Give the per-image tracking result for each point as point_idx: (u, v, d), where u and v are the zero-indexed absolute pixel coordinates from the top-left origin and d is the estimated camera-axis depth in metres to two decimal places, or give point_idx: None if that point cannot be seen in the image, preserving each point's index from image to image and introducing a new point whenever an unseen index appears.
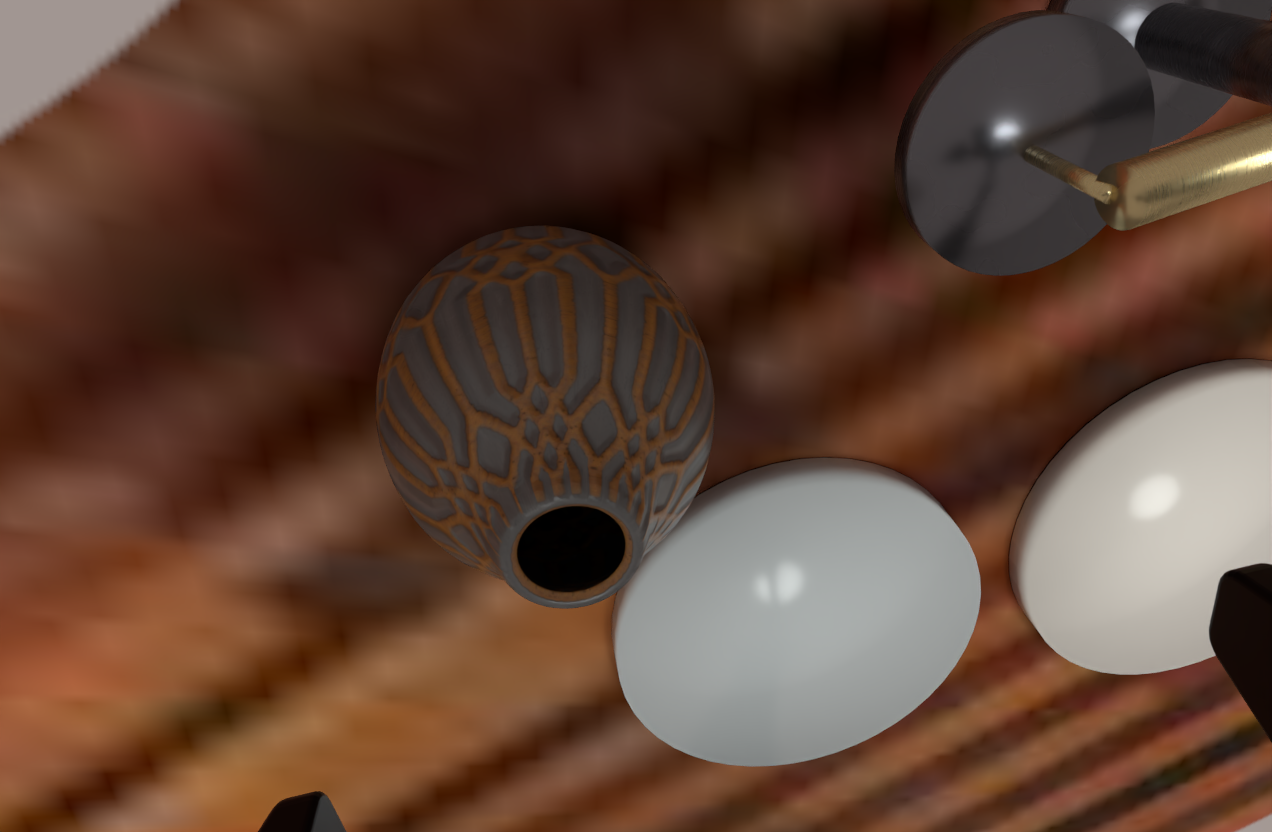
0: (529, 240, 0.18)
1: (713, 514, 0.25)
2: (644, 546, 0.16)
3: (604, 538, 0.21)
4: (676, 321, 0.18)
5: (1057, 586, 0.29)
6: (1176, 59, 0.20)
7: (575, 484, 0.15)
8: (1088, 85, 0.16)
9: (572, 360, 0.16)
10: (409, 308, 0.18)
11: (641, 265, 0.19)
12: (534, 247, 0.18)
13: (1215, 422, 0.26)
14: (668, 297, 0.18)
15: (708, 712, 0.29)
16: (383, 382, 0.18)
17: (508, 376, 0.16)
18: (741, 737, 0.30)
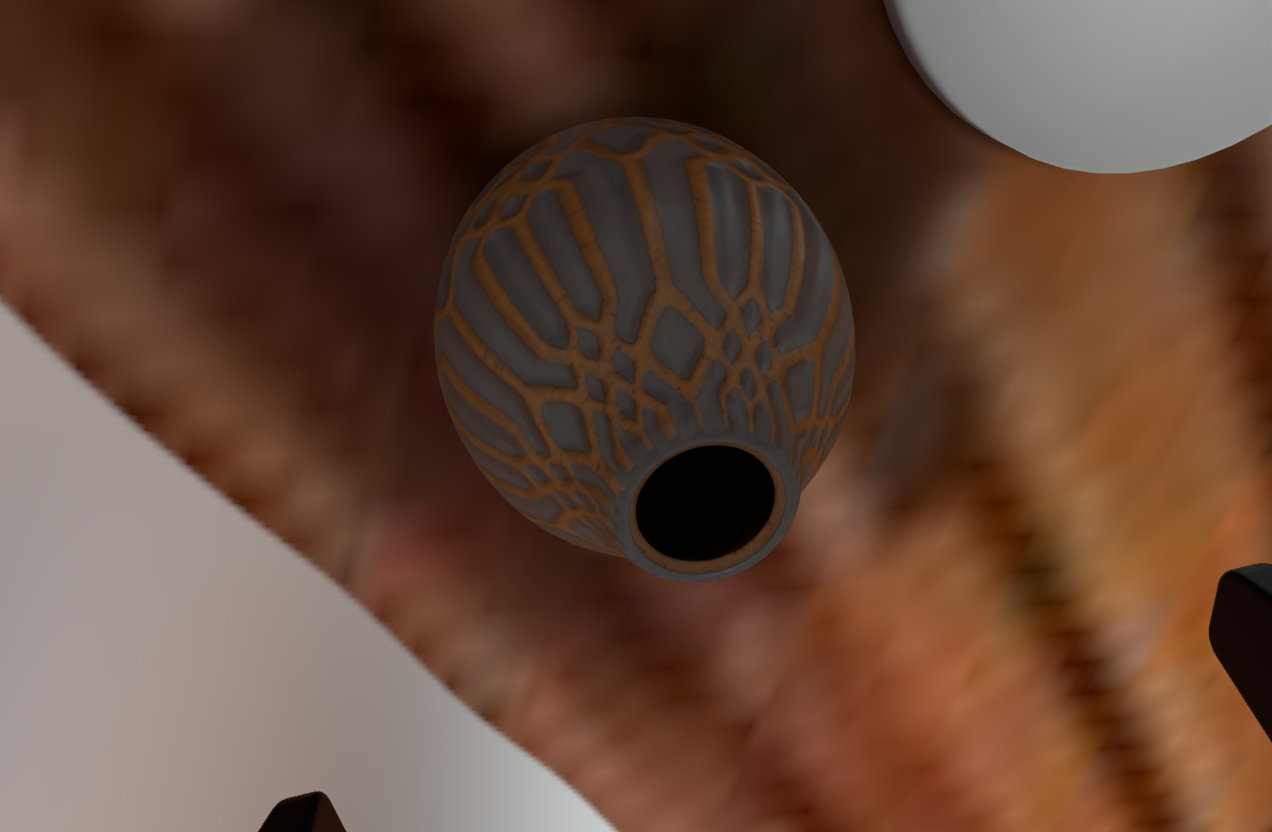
0: None
1: (913, 33, 0.17)
2: (716, 423, 0.11)
3: None
4: (505, 223, 0.14)
5: None
6: None
7: (607, 501, 0.12)
8: None
9: (503, 415, 0.13)
10: None
11: (467, 218, 0.15)
12: None
13: None
14: (489, 210, 0.14)
15: None
16: None
17: (520, 482, 0.14)
18: None
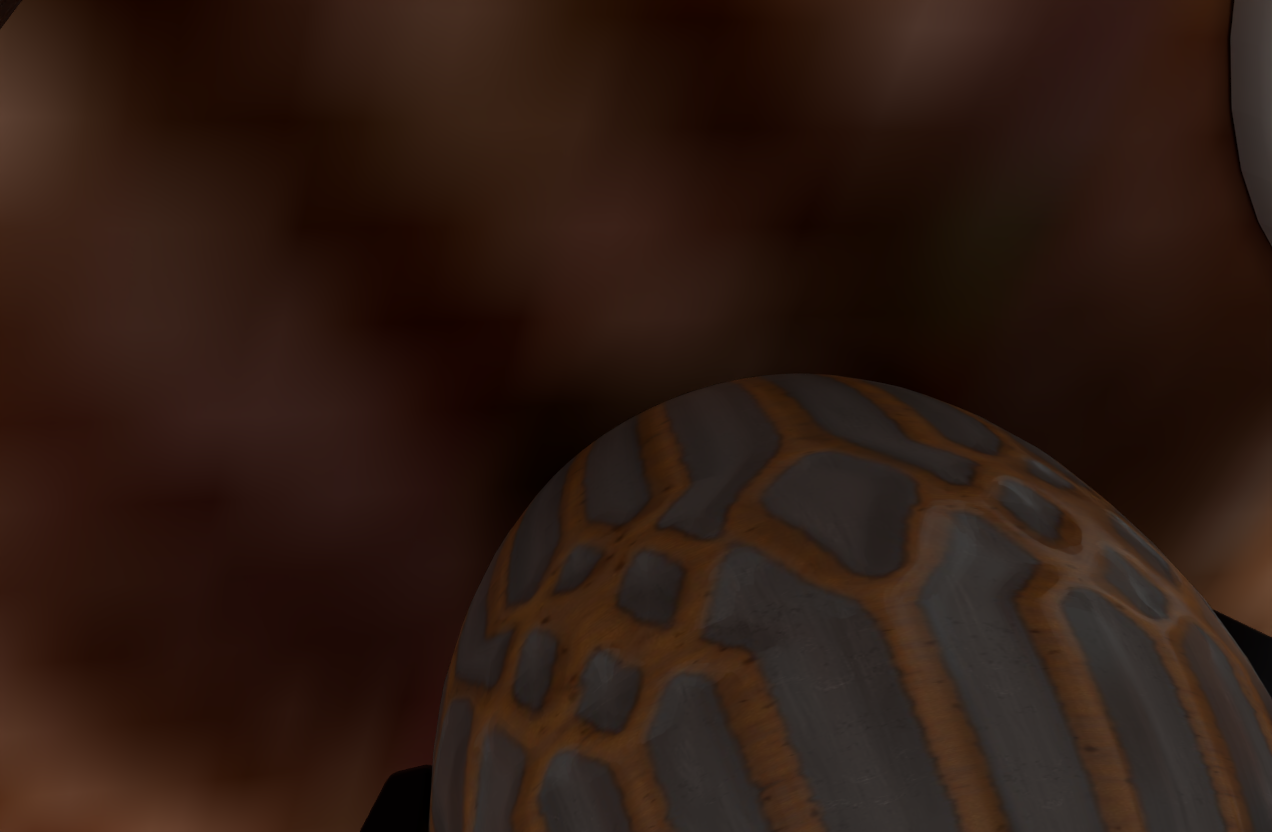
0: None
1: None
2: None
3: None
4: (593, 746, 0.06)
5: None
6: None
7: None
8: None
9: None
10: None
11: (496, 631, 0.07)
12: None
13: None
14: (549, 672, 0.06)
15: None
16: None
17: None
18: None
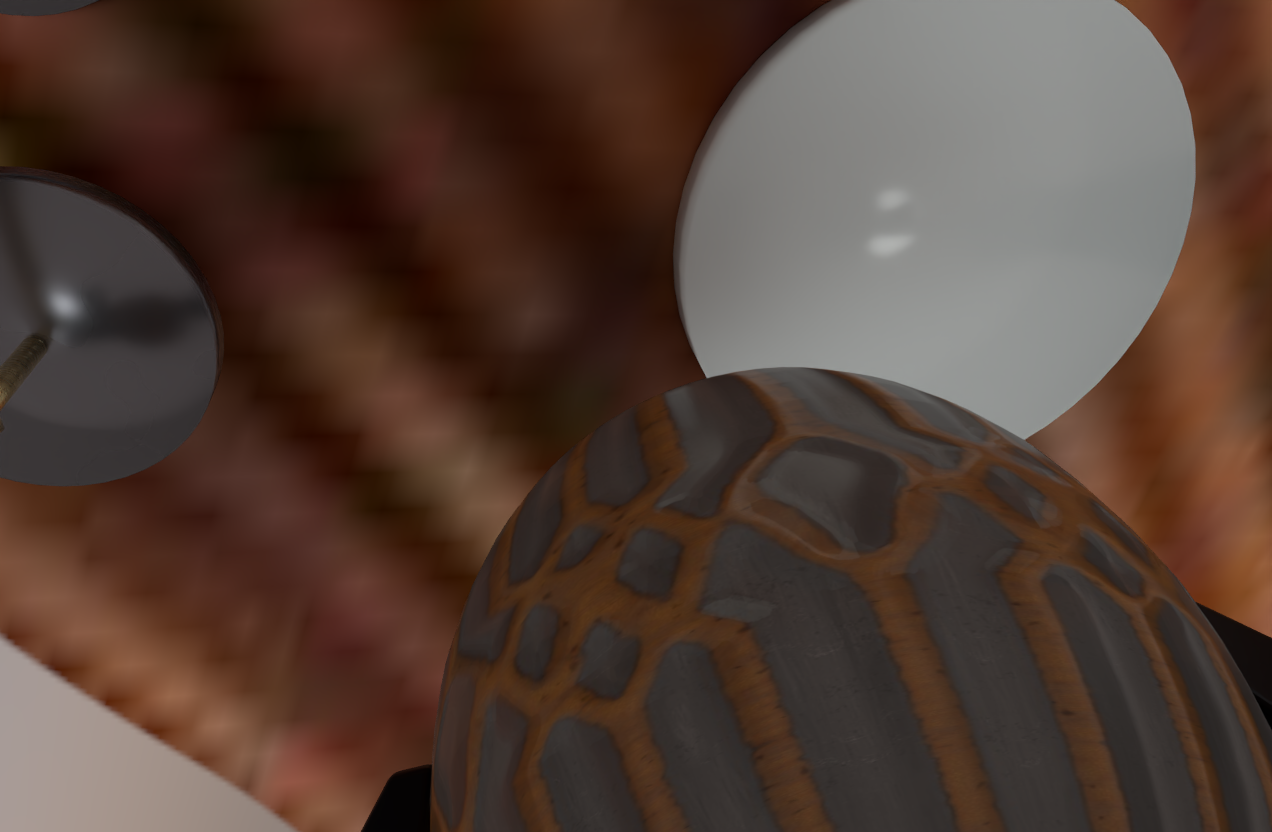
0: None
1: None
2: None
3: None
4: (593, 712, 0.06)
5: None
6: None
7: None
8: None
9: None
10: None
11: (499, 608, 0.07)
12: None
13: None
14: (551, 644, 0.07)
15: (1029, 369, 0.21)
16: None
17: None
18: (1095, 322, 0.21)
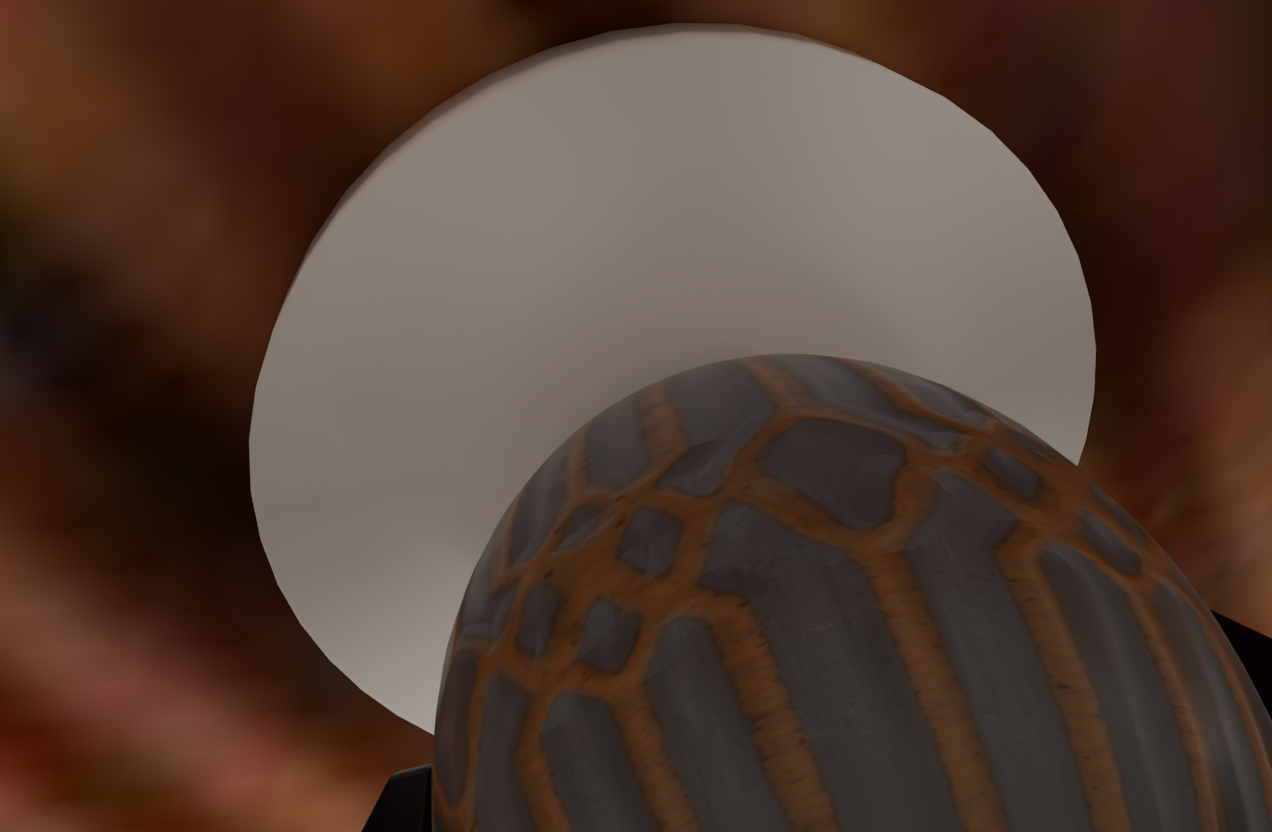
0: None
1: None
2: None
3: None
4: (592, 685, 0.06)
5: None
6: None
7: None
8: None
9: None
10: None
11: (500, 588, 0.08)
12: None
13: (375, 580, 0.12)
14: (552, 621, 0.07)
15: None
16: None
17: None
18: None
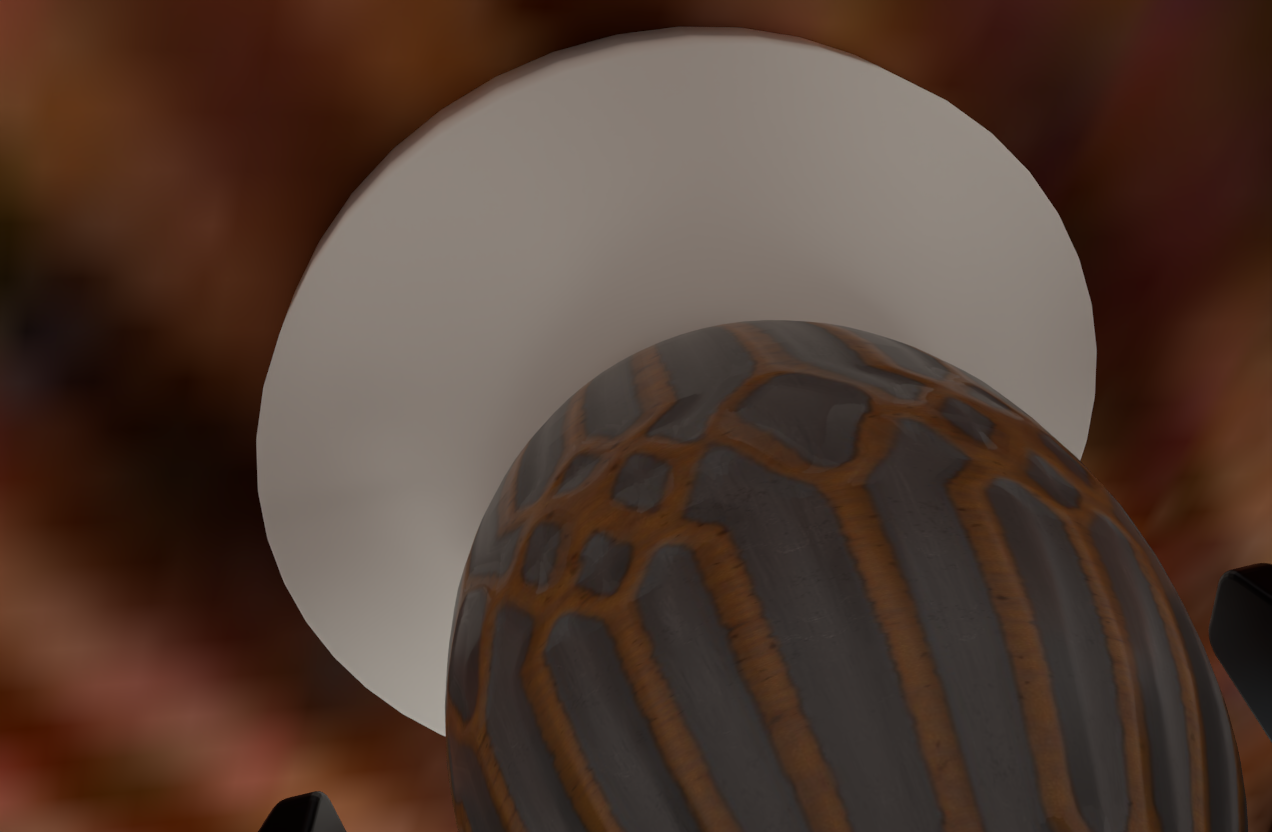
0: None
1: None
2: None
3: None
4: (590, 607, 0.07)
5: None
6: None
7: None
8: None
9: None
10: None
11: (507, 530, 0.08)
12: None
13: (380, 579, 0.12)
14: (554, 554, 0.07)
15: None
16: None
17: None
18: None
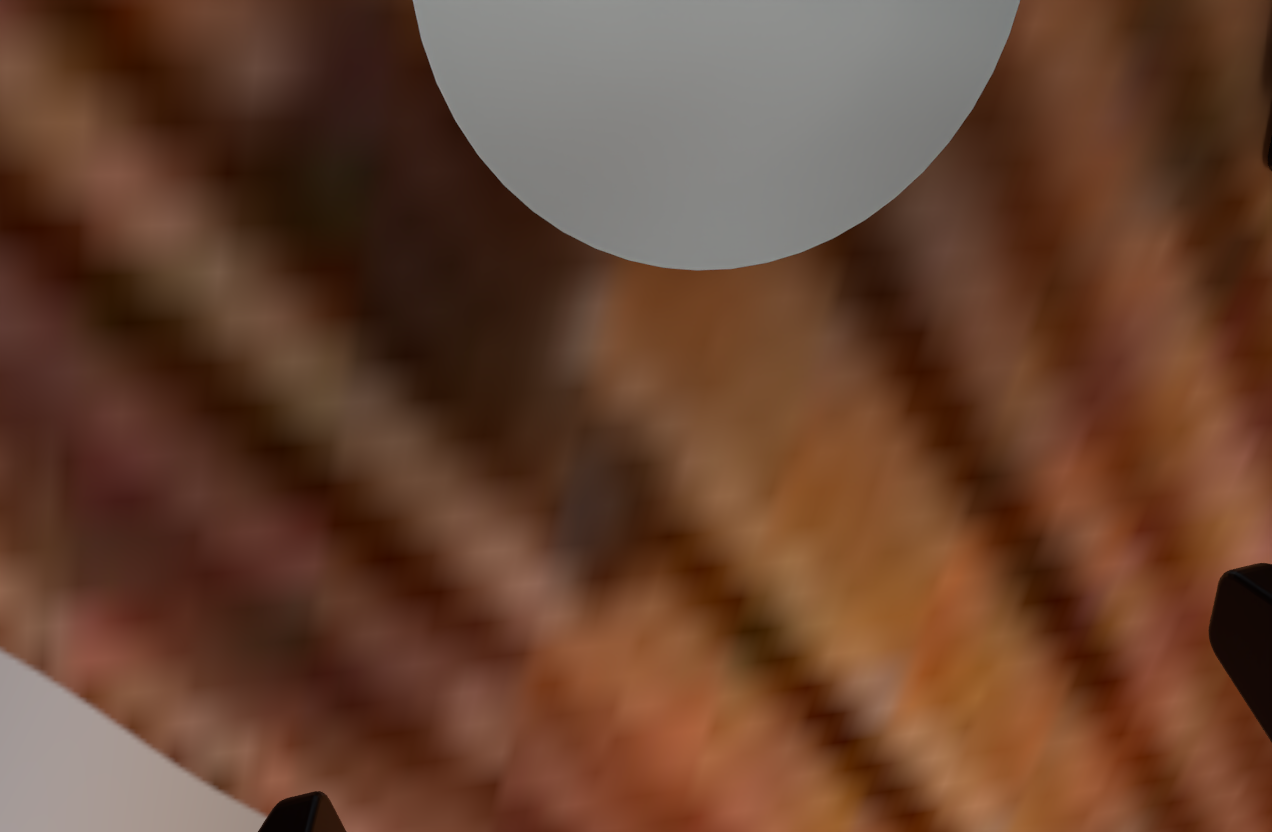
0: None
1: (476, 150, 0.17)
2: None
3: None
4: None
5: None
6: None
7: None
8: None
9: None
10: None
11: None
12: None
13: None
14: None
15: (862, 122, 0.18)
16: None
17: None
18: (935, 58, 0.18)
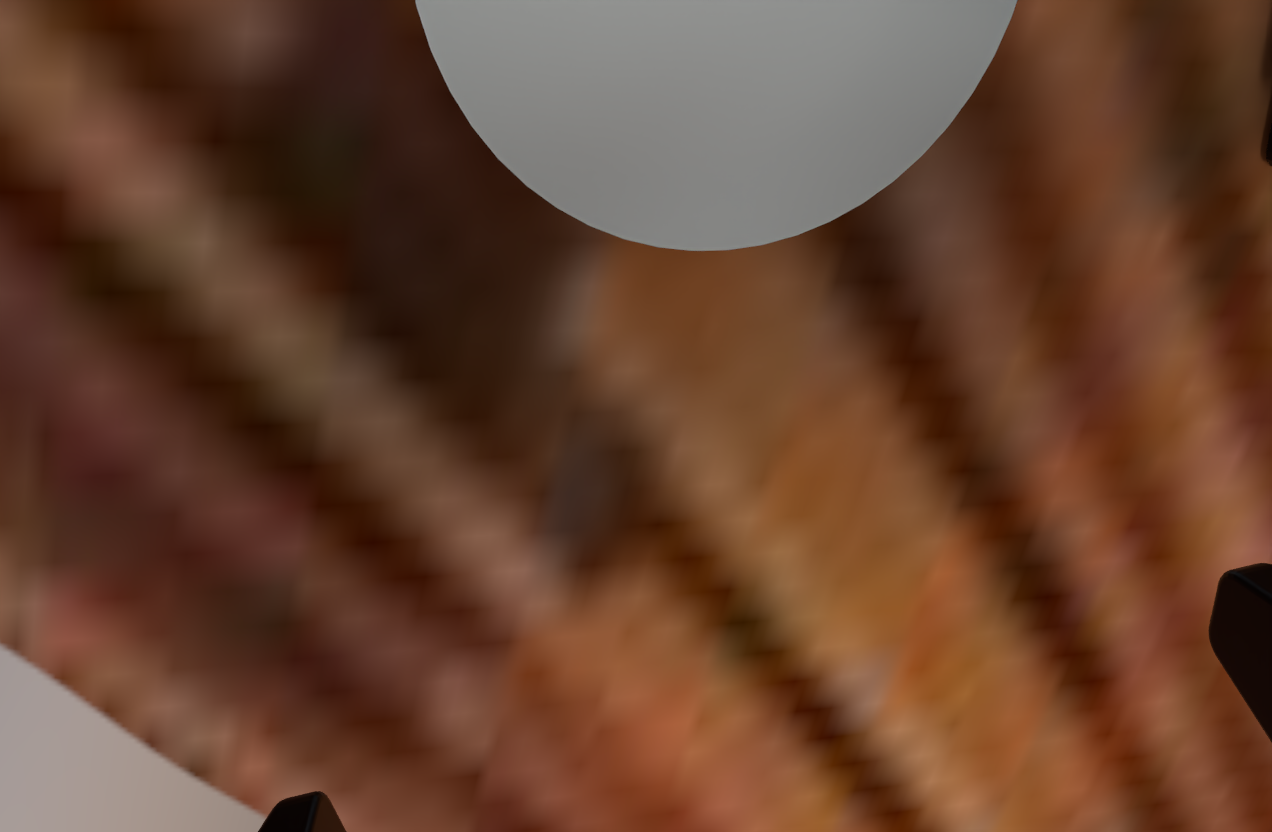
0: None
1: (470, 122, 0.17)
2: None
3: None
4: None
5: None
6: None
7: None
8: None
9: None
10: None
11: None
12: None
13: None
14: None
15: (862, 103, 0.18)
16: None
17: None
18: (936, 39, 0.18)
